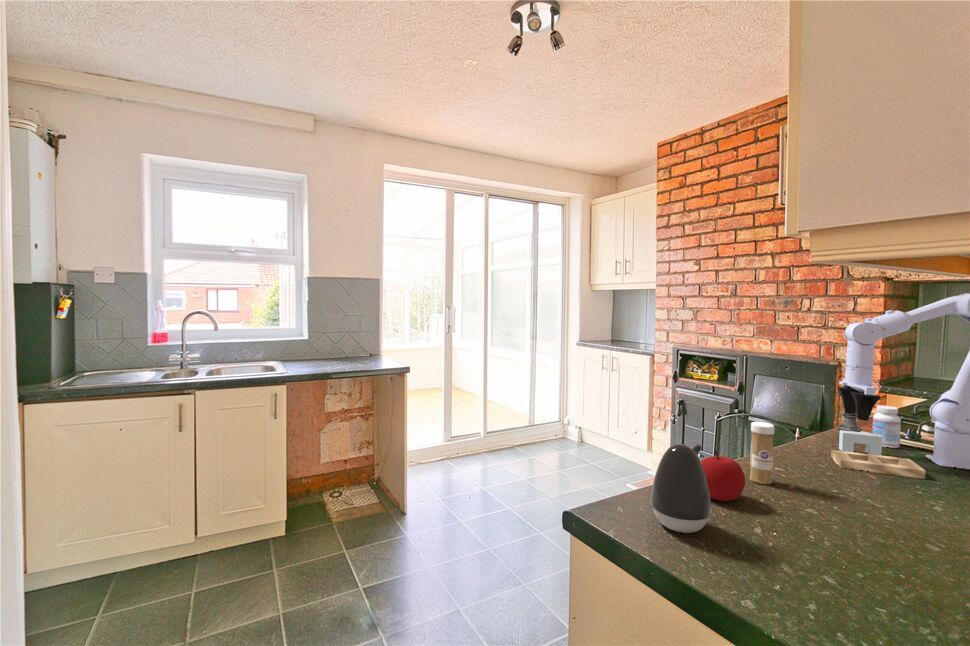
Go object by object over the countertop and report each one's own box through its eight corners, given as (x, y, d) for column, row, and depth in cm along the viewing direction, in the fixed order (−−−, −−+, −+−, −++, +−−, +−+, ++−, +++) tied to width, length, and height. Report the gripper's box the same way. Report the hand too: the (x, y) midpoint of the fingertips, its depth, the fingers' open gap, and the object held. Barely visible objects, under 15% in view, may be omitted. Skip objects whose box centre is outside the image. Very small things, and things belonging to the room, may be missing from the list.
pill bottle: (867, 441, 135) (869, 404, 134) (892, 443, 133) (894, 405, 132) (878, 447, 129) (879, 408, 128) (904, 449, 127) (906, 410, 126)
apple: (721, 510, 89) (723, 460, 89) (685, 492, 98) (687, 447, 97) (754, 502, 93) (756, 454, 92) (717, 486, 101) (718, 442, 101)
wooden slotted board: (909, 466, 114) (909, 458, 114) (925, 479, 106) (925, 470, 105) (830, 456, 121) (831, 449, 120) (840, 468, 112) (840, 460, 112)
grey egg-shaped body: (723, 531, 81) (726, 448, 80) (686, 546, 76) (688, 457, 75) (675, 508, 90) (676, 433, 89) (638, 520, 85) (640, 441, 84)
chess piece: (866, 442, 133) (868, 402, 132) (846, 442, 133) (848, 402, 133) (851, 436, 139) (852, 398, 138) (831, 436, 139) (833, 398, 138)
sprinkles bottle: (756, 485, 102) (758, 426, 101) (745, 477, 106) (747, 420, 106) (777, 485, 102) (779, 426, 101) (764, 477, 106) (766, 421, 106)
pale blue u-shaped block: (877, 453, 123) (878, 433, 123) (881, 457, 121) (882, 436, 120) (839, 449, 127) (839, 430, 127) (842, 452, 124) (842, 432, 124)
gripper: (830, 362, 129) (828, 409, 130) (853, 369, 116) (849, 421, 117) (860, 364, 127) (857, 411, 128) (887, 371, 113) (883, 424, 114)
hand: (856, 416), depth 122 cm, fingers open, 7 cm apart
